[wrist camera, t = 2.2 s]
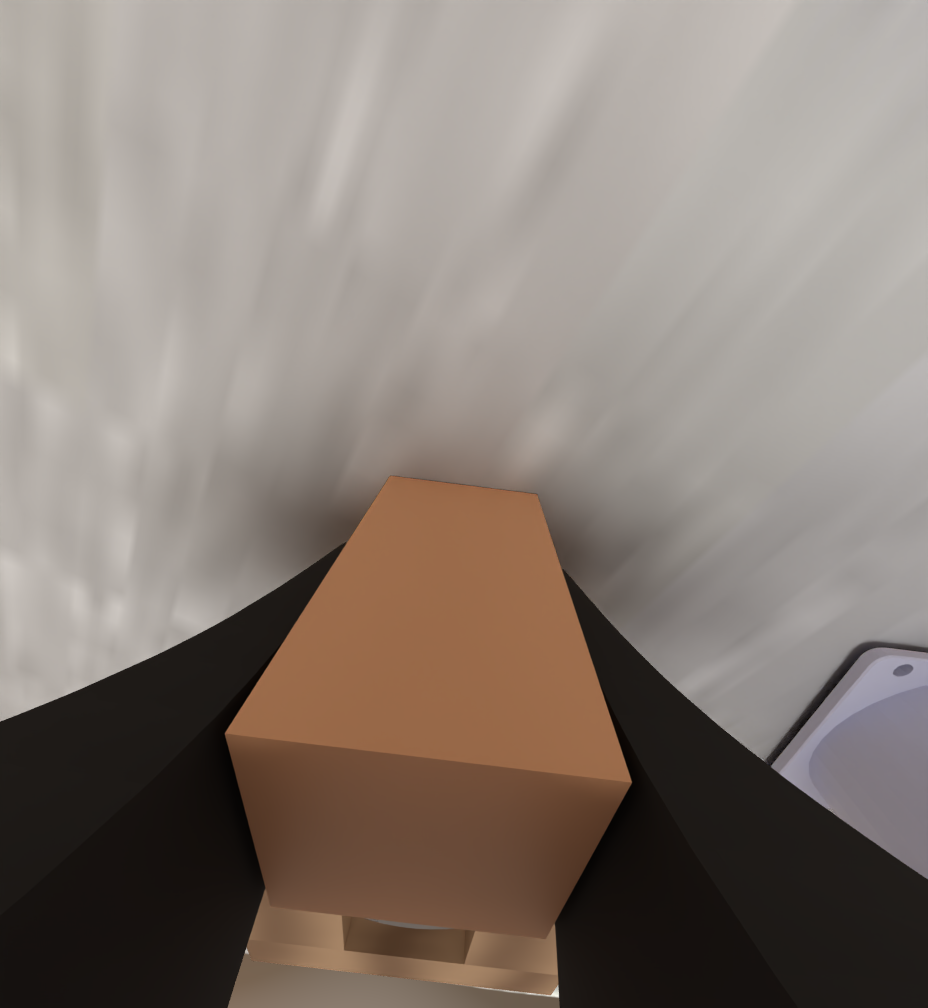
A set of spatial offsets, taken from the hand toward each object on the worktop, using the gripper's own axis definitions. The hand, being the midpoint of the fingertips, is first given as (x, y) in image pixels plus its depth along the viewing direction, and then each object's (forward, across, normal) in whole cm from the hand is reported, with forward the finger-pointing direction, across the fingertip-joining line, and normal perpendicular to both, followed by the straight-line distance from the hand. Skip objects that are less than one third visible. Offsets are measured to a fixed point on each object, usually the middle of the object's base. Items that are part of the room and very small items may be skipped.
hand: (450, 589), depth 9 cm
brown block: (+2, 0, 0) cm, 2 cm away
